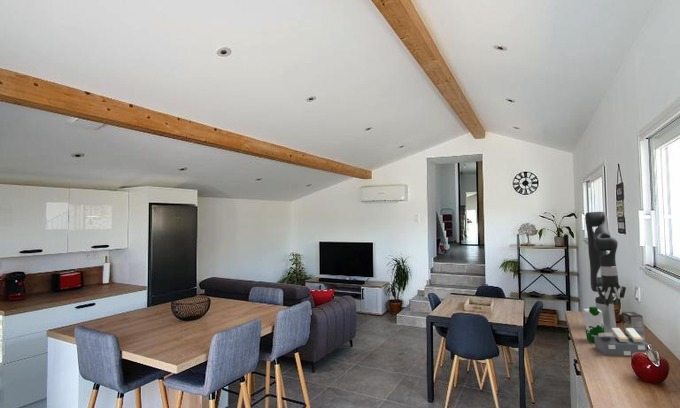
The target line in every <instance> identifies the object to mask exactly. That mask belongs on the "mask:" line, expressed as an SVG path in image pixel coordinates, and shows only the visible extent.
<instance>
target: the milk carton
mask: <svg viewBox="0 0 680 408" xmlns="http://www.w3.org/2000/svg"><path fill="white" fill-rule="evenodd" d="M582 311H583V321H584V328H585V329H584V330H585V335H586V339H587V341H588V342H589V343H590V344H595V341H594V336H599V335H598V333H604V324H603V315H602V311H600V310H599V309H598V308H597V307H596V306H589V308H583V310H582Z"/></svg>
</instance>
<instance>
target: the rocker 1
mask: <svg viewBox="0 0 680 408" xmlns="http://www.w3.org/2000/svg"><path fill="white" fill-rule="evenodd" d="M598 335H599V337H611V336H613V337H614V334H613V332H604V333H598Z"/></svg>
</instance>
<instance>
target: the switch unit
mask: <svg viewBox="0 0 680 408" xmlns="http://www.w3.org/2000/svg"><path fill="white" fill-rule="evenodd" d="M627 338H628V342H620V341H619V340H618V339H617V337H616V336H614V335H613V336H611V337H599V336H594V341H595V343H594V348H595V347H596V348H595V349H596V350H597V351H599V352H600V353H601V354H602V355H604V357H605V356H606V357H607V356H609V357H633V356H632V354H633V353H635V352H644V353H645V352H646V351H647V345H649V346H650V344H649V343H648V342H646V341H645V342H644V341H643V342H634V341H633V340H632V338H631V337H627Z"/></svg>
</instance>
